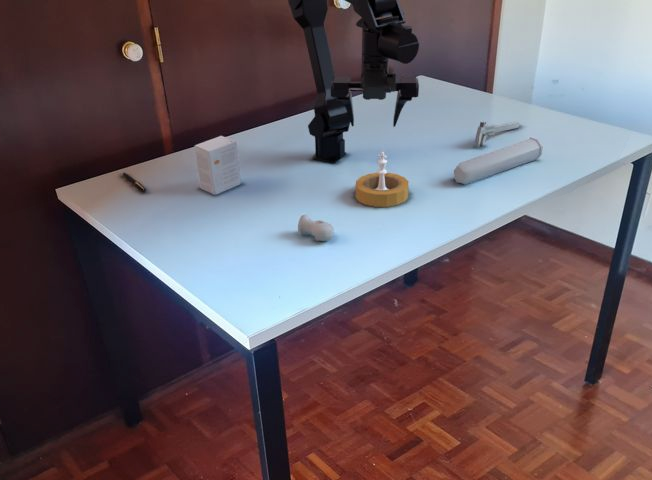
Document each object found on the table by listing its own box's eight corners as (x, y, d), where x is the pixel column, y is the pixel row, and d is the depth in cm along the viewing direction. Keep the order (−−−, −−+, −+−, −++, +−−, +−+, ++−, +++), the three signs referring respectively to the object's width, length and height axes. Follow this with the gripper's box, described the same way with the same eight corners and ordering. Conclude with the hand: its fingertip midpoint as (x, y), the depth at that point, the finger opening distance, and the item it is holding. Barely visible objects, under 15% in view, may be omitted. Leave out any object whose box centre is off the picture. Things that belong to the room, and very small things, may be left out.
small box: (226, 178, 169) (221, 134, 162) (241, 184, 165) (237, 140, 159) (199, 188, 164) (193, 144, 158) (214, 195, 161) (208, 151, 155)
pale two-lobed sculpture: (337, 244, 143) (321, 246, 140) (308, 231, 148) (292, 233, 144) (342, 223, 142) (325, 225, 138) (312, 211, 146) (296, 212, 142)
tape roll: (347, 201, 156) (346, 188, 155) (369, 181, 164) (369, 169, 163) (395, 211, 152) (395, 198, 150) (415, 190, 160) (416, 177, 158)
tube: (468, 173, 157) (546, 145, 167) (453, 159, 159) (530, 132, 170) (461, 192, 161) (537, 164, 171) (446, 178, 163) (522, 151, 174)
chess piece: (386, 201, 155) (387, 158, 149) (366, 197, 158) (366, 154, 152) (396, 193, 159) (398, 150, 153) (376, 189, 161) (377, 146, 155)
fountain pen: (119, 175, 172) (118, 169, 171) (124, 173, 173) (123, 167, 172) (143, 194, 163) (142, 188, 162) (148, 193, 163) (147, 187, 162)
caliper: (478, 148, 178) (481, 124, 174) (474, 147, 179) (477, 123, 175) (520, 126, 190) (524, 102, 186) (517, 125, 190) (520, 102, 187)
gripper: (328, 64, 142) (329, 139, 152) (422, 64, 141) (417, 140, 151) (331, 48, 151) (332, 120, 161) (419, 48, 150) (415, 121, 159)
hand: (373, 125), depth 158 cm, fingers open, 9 cm apart
